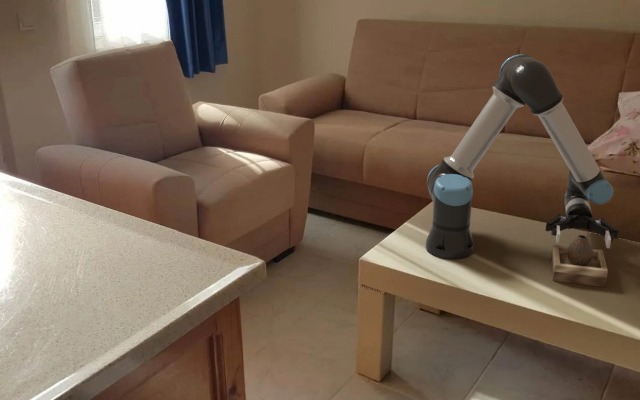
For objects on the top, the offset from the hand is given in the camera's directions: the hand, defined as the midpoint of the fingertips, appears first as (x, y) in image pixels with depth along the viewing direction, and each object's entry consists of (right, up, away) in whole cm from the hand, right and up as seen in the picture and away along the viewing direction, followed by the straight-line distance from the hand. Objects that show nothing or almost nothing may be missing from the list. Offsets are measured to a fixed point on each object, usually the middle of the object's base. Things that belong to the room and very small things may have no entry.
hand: (583, 241), depth 180 cm
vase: (0, -7, +4) cm, 8 cm away
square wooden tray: (0, -10, +5) cm, 11 cm away
